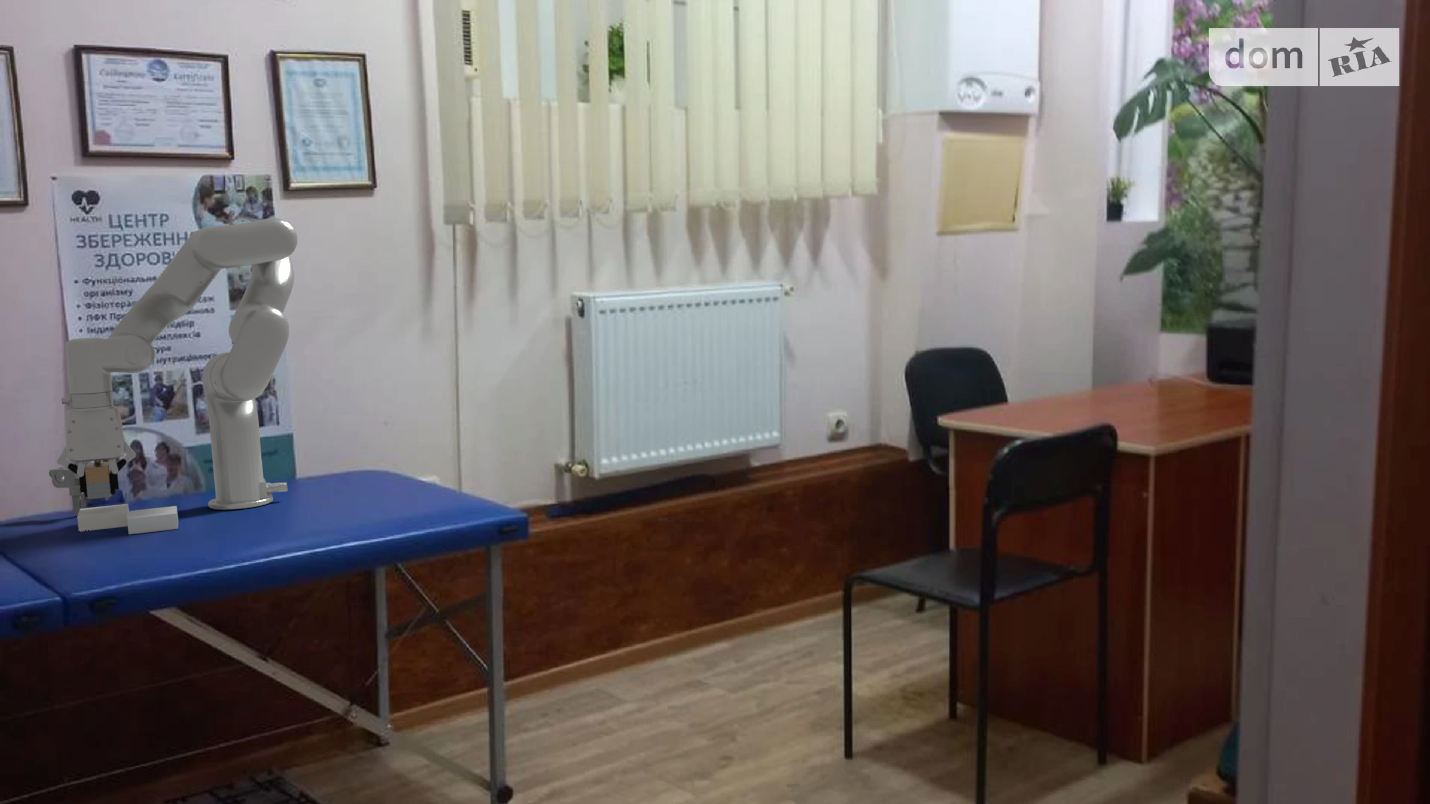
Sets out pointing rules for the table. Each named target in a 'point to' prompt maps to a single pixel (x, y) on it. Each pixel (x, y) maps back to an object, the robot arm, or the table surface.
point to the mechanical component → (68, 484)
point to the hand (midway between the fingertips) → (100, 493)
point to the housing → (98, 479)
